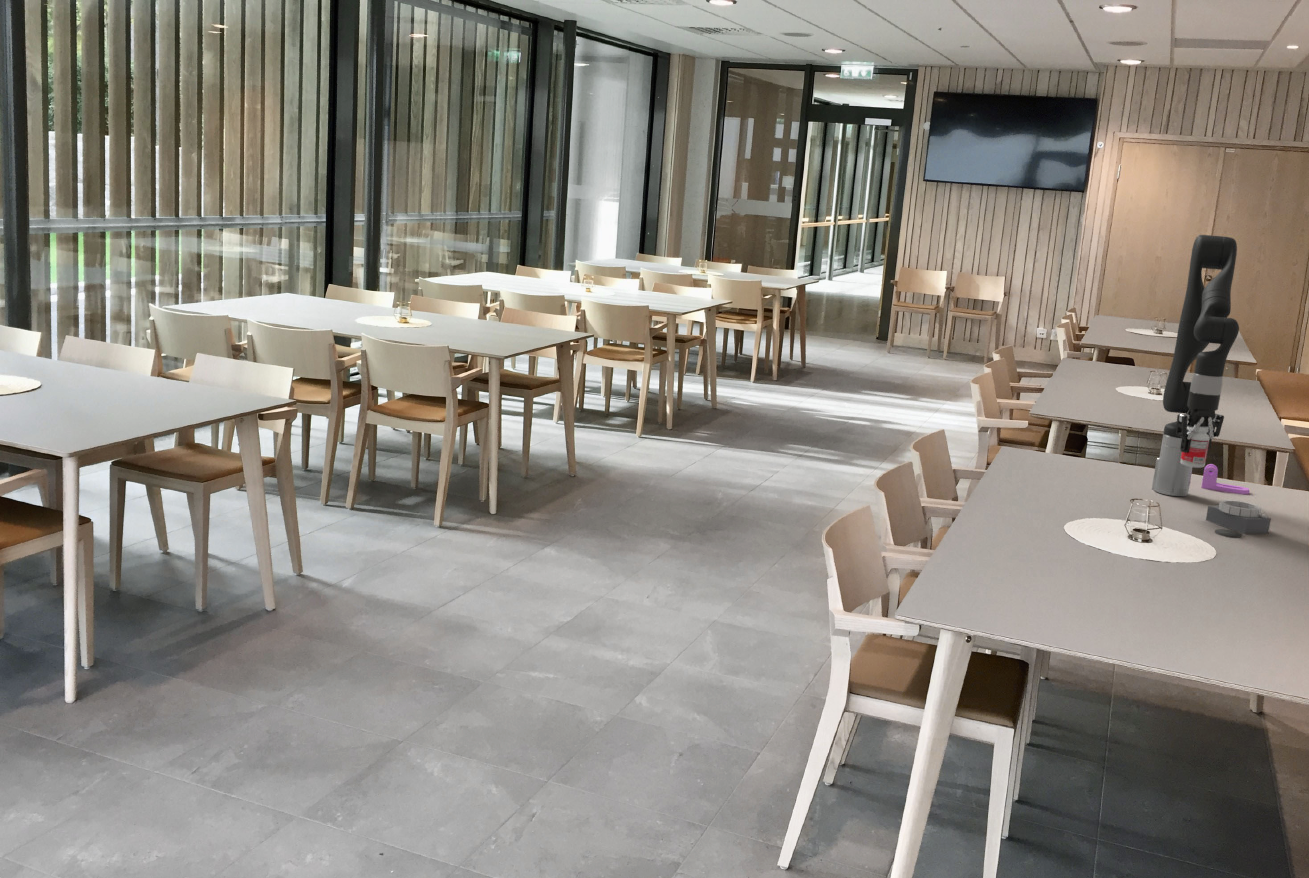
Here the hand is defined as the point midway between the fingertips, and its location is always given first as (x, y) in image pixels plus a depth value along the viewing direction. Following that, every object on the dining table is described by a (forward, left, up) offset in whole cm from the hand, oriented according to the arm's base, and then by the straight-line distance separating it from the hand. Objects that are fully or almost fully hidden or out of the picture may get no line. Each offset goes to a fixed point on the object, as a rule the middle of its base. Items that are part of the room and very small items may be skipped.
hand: (1194, 451), depth 305 cm
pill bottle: (0, 0, -4) cm, 4 cm away
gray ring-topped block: (+12, +6, -18) cm, 22 cm away
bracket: (-24, +39, -18) cm, 49 cm away
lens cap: (+18, -3, -18) cm, 26 cm away
